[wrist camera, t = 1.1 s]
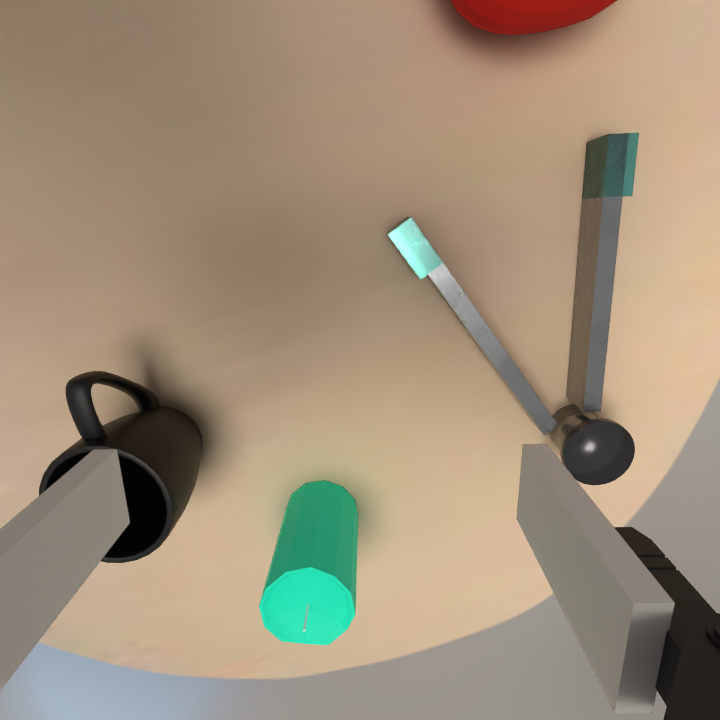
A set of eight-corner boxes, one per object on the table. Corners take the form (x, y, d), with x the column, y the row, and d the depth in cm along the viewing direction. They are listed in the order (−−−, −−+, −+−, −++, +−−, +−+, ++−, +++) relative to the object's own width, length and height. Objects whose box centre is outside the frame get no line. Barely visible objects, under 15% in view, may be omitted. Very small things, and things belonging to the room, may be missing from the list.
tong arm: (543, 410, 37) (558, 426, 34) (523, 423, 38) (537, 439, 35) (407, 217, 33) (411, 217, 30) (386, 233, 34) (388, 234, 31)
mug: (198, 337, 36) (140, 377, 27) (228, 479, 39) (185, 558, 30) (91, 349, 36) (-1, 392, 27) (130, 489, 40) (59, 569, 30)
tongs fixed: (600, 453, 38) (630, 484, 34) (538, 455, 38) (561, 486, 34) (632, 139, 32) (675, 126, 27) (559, 143, 32) (590, 130, 28)
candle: (272, 519, 40) (234, 639, 29) (312, 467, 39) (289, 571, 27) (331, 555, 41) (318, 685, 30) (372, 505, 40) (375, 621, 28)
